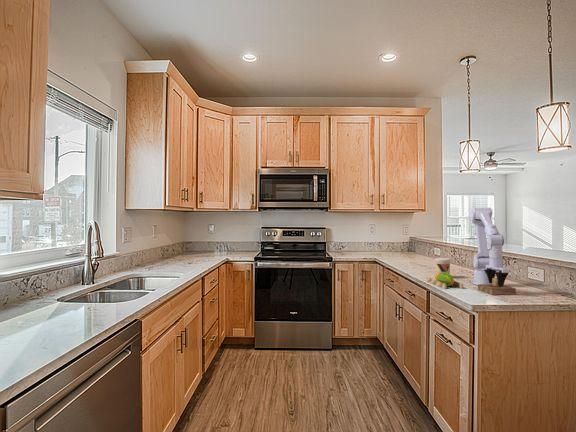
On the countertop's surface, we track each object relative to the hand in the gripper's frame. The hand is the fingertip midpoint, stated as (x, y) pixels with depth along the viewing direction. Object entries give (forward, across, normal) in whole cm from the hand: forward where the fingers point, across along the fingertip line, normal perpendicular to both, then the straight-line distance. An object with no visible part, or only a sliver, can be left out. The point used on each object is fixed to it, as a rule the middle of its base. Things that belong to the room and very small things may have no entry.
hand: (496, 284), depth 175 cm
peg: (+4, 0, 0) cm, 4 cm away
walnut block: (+4, 0, 0) cm, 4 cm away
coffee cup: (+4, -44, -7) cm, 45 cm away
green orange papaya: (+4, -21, -18) cm, 28 cm away
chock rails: (+4, -21, -17) cm, 27 cm away
